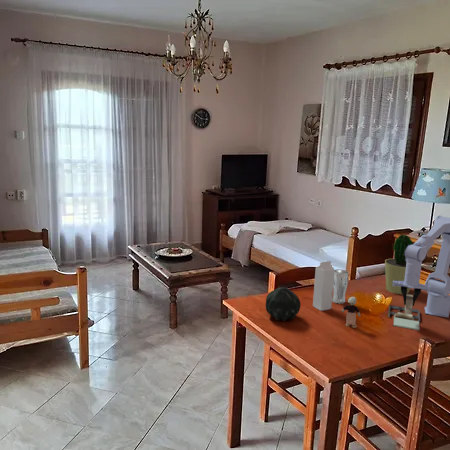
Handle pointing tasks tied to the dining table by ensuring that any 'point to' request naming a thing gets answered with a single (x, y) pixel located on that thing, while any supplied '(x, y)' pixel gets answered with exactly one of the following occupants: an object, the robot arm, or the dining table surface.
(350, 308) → the grandmother figurine
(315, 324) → the dining table surface
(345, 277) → the beer glass
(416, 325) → the sage mat
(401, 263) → the potted cactus
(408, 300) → the tall beige block
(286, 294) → the squash
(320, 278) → the milk
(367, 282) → the dining table surface
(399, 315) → the offcut stack
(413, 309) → the metal rack
